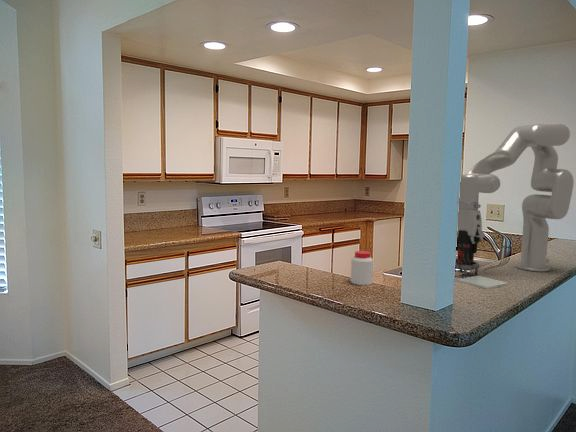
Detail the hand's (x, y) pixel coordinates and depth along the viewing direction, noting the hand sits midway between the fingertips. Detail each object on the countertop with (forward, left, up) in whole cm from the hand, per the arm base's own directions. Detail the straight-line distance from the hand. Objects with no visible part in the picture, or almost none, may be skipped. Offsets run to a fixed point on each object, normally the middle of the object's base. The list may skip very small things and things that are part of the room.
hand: (465, 251), depth 174 cm
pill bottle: (+45, -10, -10) cm, 47 cm away
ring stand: (+1, 0, -9) cm, 9 cm away
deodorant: (0, 0, -7) cm, 7 cm away
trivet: (+6, +12, -9) cm, 16 cm away
